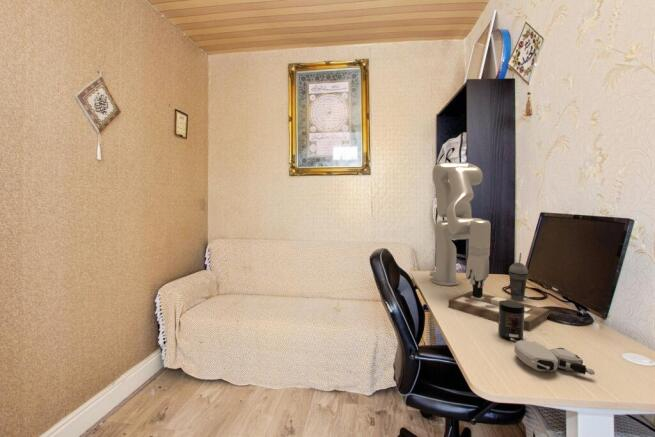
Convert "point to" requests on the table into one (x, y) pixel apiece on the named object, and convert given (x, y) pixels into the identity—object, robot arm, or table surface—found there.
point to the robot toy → (549, 358)
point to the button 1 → (477, 298)
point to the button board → (495, 309)
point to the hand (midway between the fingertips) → (477, 296)
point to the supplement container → (511, 320)
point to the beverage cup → (518, 280)
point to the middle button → (496, 300)
